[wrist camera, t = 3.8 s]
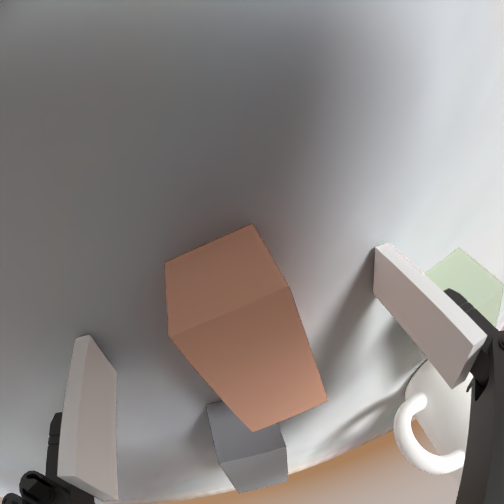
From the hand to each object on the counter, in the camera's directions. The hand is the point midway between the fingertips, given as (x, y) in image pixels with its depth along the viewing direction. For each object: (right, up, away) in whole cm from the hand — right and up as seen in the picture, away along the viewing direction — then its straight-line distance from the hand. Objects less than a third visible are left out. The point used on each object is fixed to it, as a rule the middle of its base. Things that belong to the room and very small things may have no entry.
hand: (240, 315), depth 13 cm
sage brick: (+12, 0, +4) cm, 13 cm away
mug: (+15, -7, +9) cm, 19 cm away
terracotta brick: (0, 0, 0) cm, 0 cm away
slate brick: (0, -8, +5) cm, 10 cm away
